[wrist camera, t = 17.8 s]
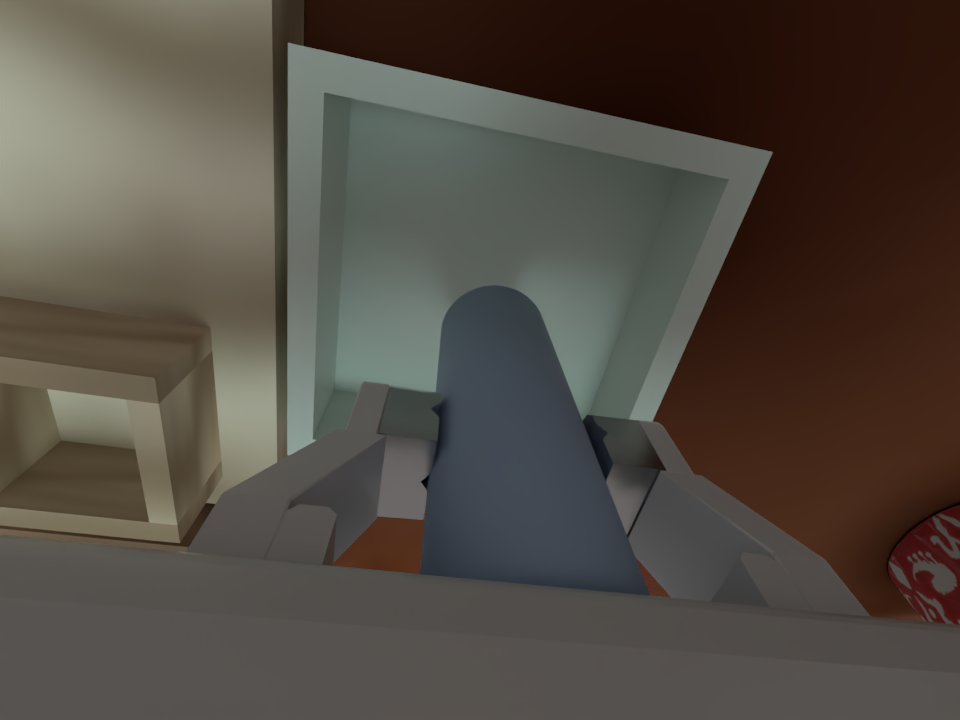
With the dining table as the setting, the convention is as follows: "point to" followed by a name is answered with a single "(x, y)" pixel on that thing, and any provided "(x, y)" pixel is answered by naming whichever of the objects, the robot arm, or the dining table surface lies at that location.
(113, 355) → the board
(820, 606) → the robot arm
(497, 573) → the dowel
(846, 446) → the dining table surface
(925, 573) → the mug
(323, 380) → the tray
